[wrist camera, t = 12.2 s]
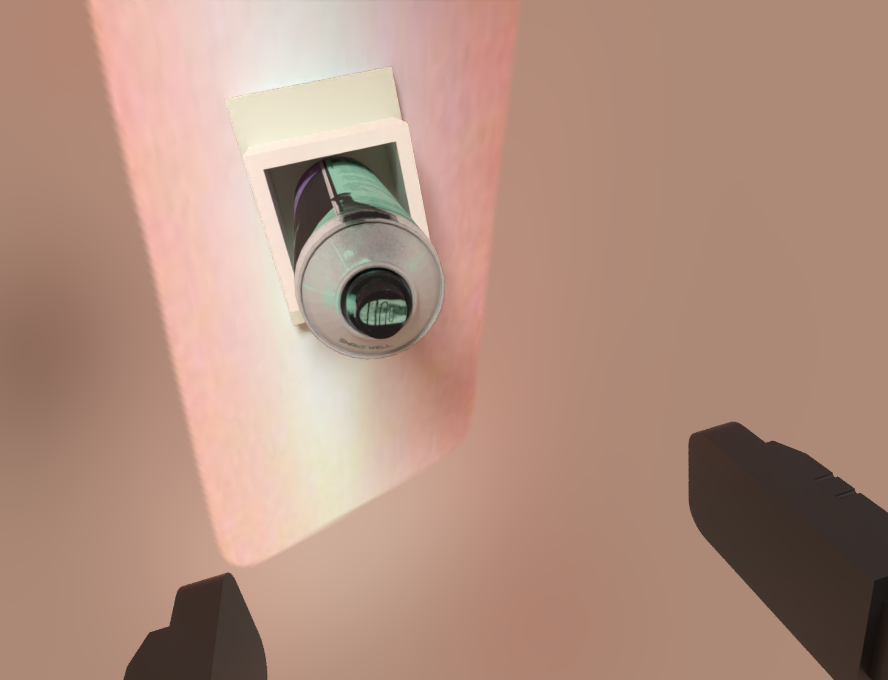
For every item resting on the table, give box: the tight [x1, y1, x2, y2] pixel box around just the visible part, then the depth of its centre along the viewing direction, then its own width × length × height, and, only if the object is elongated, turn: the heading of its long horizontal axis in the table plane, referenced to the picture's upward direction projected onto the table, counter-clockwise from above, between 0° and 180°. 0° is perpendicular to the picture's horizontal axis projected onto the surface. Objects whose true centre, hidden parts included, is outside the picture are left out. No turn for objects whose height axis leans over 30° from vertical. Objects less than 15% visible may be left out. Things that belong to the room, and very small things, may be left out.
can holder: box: [224, 67, 430, 326], centre depth 36 cm, size 14×10×6 cm
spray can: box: [294, 157, 445, 359], centre depth 29 cm, size 6×6×20 cm
